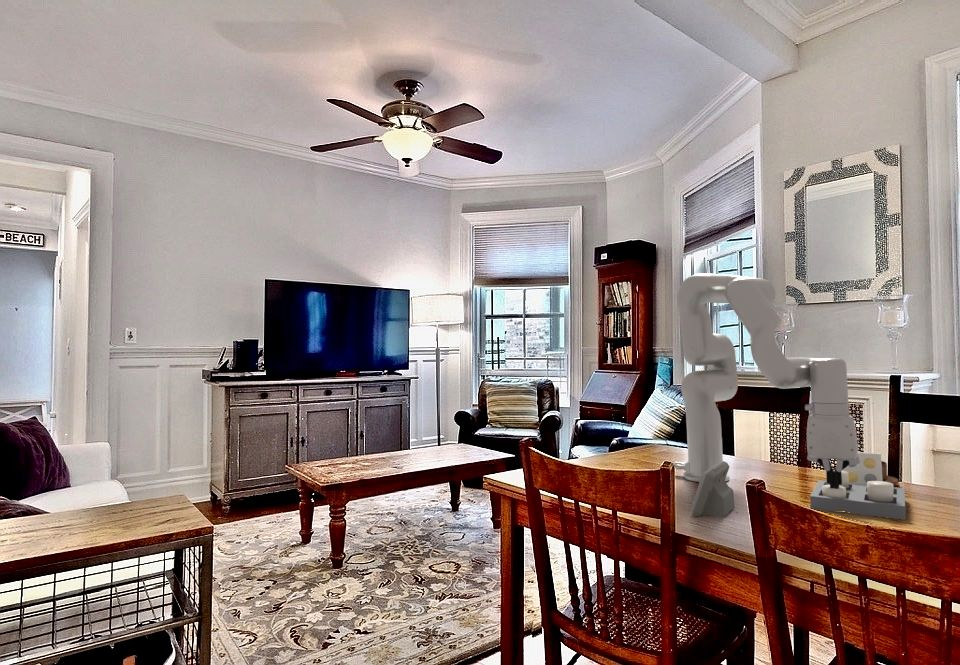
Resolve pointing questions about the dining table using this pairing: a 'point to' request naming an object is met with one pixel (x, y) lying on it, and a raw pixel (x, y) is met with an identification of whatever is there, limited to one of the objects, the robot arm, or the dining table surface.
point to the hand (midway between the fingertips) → (834, 487)
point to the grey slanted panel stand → (713, 493)
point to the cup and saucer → (884, 475)
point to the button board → (859, 502)
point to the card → (865, 469)
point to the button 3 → (880, 491)
